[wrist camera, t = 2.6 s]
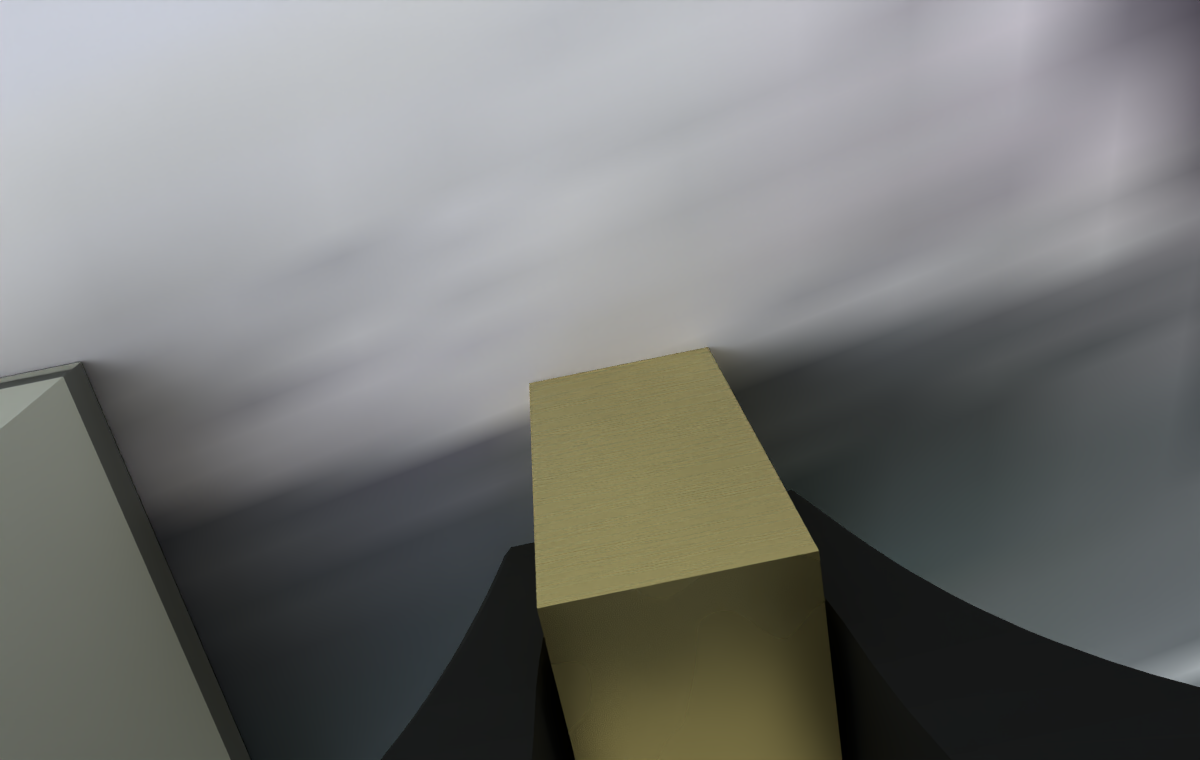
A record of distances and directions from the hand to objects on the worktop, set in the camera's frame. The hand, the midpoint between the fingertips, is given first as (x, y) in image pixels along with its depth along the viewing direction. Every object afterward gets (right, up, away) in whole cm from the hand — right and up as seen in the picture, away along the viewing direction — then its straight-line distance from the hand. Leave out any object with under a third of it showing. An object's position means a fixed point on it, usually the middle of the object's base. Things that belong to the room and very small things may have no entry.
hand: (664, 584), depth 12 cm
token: (0, +1, +1) cm, 2 cm away
